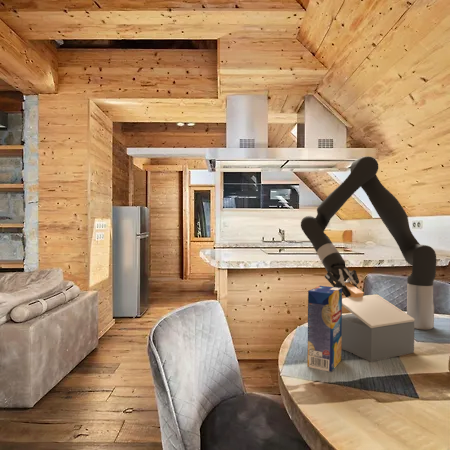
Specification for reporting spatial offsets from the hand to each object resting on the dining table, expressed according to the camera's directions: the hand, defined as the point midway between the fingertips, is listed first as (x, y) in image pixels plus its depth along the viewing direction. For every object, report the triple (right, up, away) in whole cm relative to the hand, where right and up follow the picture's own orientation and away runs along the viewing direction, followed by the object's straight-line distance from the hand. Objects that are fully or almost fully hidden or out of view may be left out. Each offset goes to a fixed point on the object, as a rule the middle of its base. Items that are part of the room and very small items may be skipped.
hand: (353, 295), depth 128 cm
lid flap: (+2, -2, -5) cm, 6 cm away
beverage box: (-16, -16, -20) cm, 31 cm away
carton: (+4, -16, -8) cm, 18 cm away
